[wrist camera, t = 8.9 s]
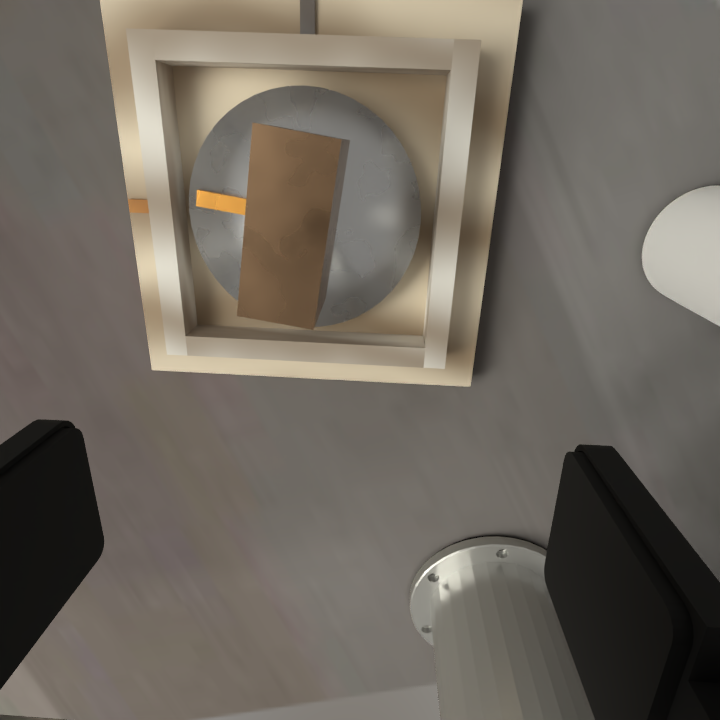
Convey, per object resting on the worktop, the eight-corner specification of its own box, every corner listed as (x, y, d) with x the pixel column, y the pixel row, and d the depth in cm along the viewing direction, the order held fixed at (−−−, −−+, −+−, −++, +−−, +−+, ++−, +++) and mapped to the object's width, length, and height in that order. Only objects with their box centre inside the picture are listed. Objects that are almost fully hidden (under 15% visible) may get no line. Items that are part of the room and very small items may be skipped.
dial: (443, 113, 25) (461, 103, 19) (394, 335, 30) (397, 385, 24) (204, 67, 25) (143, 41, 19) (194, 298, 30) (142, 339, 23)
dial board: (466, 376, 33) (475, 401, 29) (161, 360, 33) (137, 383, 30) (515, 6, 25) (534, -14, 21) (113, -6, 25) (73, -27, 22)
